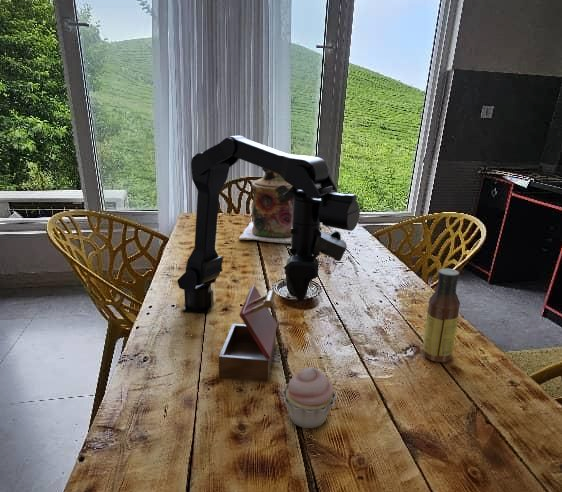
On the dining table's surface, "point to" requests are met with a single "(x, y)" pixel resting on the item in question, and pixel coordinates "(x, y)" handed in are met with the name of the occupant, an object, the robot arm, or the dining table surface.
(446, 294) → the sauce bottle
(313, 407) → the cupcake
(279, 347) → the dining table surface
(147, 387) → the dining table surface
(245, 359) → the hinged lid chest
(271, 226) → the cookie jar
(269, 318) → the cover
